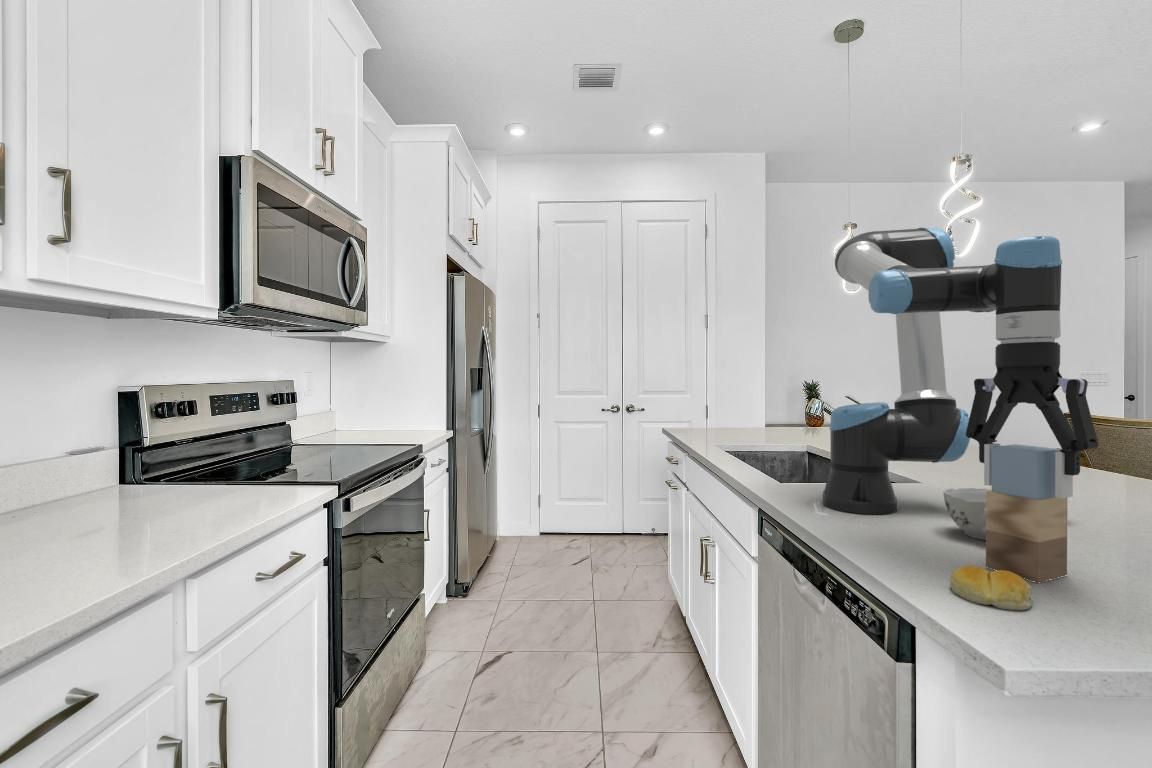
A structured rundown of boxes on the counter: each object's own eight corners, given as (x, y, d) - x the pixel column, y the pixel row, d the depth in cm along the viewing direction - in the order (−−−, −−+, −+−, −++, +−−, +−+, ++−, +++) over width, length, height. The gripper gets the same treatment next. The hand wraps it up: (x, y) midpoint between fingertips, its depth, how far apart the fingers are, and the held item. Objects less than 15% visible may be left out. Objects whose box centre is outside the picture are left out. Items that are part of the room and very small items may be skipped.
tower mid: (986, 529, 84) (986, 491, 84) (1014, 524, 87) (1014, 487, 86) (1038, 542, 77) (1038, 500, 77) (1067, 536, 80) (1067, 496, 80)
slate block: (991, 491, 83) (991, 446, 83) (1015, 488, 86) (1015, 444, 86) (1036, 500, 78) (1037, 451, 78) (1061, 496, 80) (1061, 449, 80)
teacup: (943, 523, 108) (943, 483, 108) (1023, 533, 101) (1023, 490, 101) (943, 543, 96) (943, 498, 96) (1035, 556, 89) (1035, 508, 89)
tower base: (985, 567, 84) (986, 529, 84) (1013, 561, 87) (1014, 524, 87) (1038, 583, 78) (1038, 542, 77) (1066, 576, 80) (1067, 536, 80)
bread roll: (954, 581, 79) (954, 554, 79) (1034, 598, 73) (1034, 569, 73) (944, 598, 73) (944, 569, 73) (1030, 618, 67) (1030, 586, 67)
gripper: (939, 345, 90) (938, 479, 90) (1104, 336, 70) (1102, 509, 70) (968, 345, 93) (968, 476, 93) (1135, 337, 73) (1133, 503, 73)
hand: (1026, 490), depth 82 cm, fingers open, 9 cm apart
